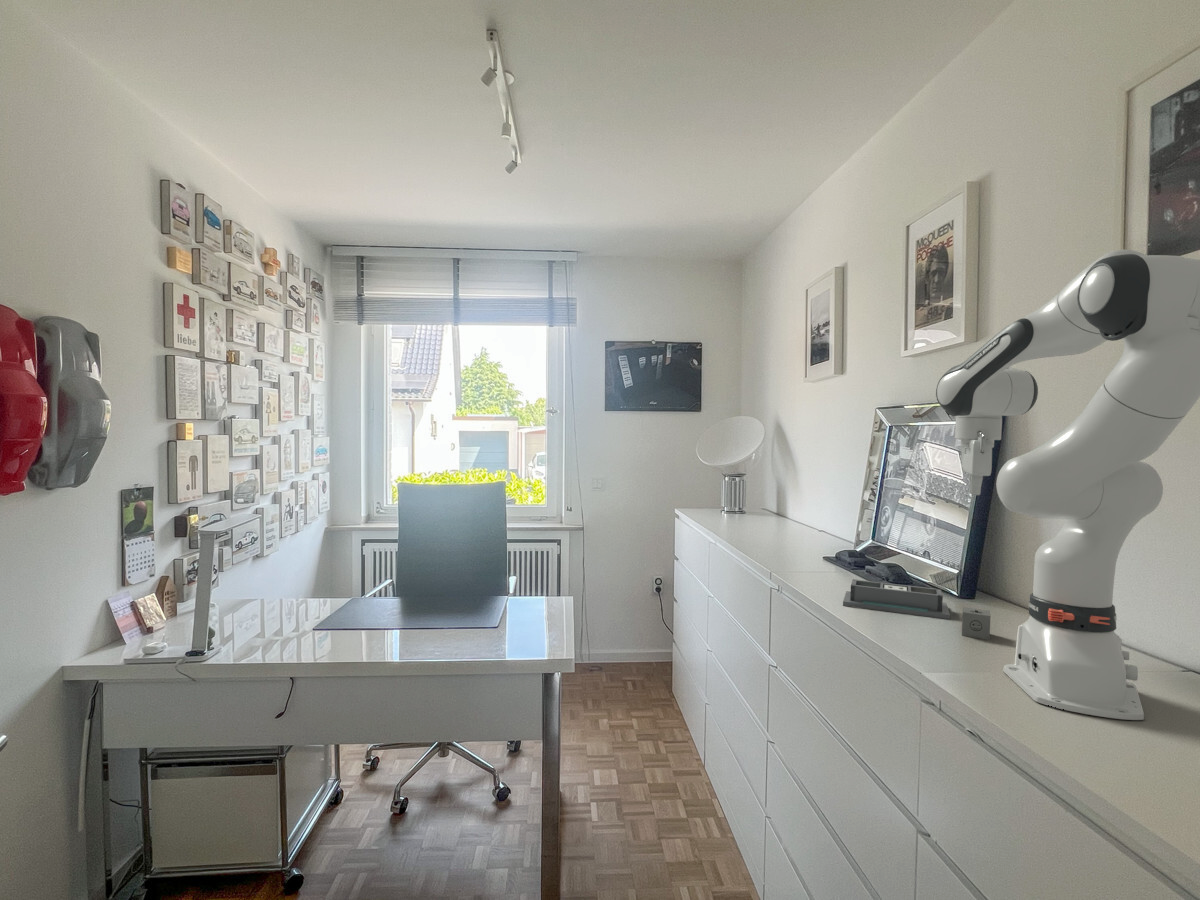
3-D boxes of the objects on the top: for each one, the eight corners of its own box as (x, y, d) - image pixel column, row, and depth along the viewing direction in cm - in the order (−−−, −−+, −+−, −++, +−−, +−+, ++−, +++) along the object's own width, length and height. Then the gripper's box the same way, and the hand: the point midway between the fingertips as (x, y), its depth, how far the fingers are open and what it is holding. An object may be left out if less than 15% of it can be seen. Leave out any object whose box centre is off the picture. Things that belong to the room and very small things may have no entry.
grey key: (906, 599, 156) (907, 590, 156) (883, 596, 158) (884, 588, 158) (906, 594, 161) (906, 586, 161) (884, 591, 163) (884, 584, 163)
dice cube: (961, 635, 137) (962, 612, 137) (961, 629, 142) (962, 606, 142) (989, 640, 135) (990, 616, 135) (988, 633, 139) (989, 610, 139)
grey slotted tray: (949, 619, 150) (950, 598, 149) (842, 605, 159) (843, 586, 159) (946, 607, 160) (946, 588, 160) (846, 594, 170) (846, 576, 170)
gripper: (1001, 431, 132) (998, 499, 133) (988, 432, 151) (985, 492, 152) (966, 430, 135) (963, 497, 135) (957, 431, 154) (954, 490, 154)
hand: (974, 494), depth 144 cm, fingers closed
